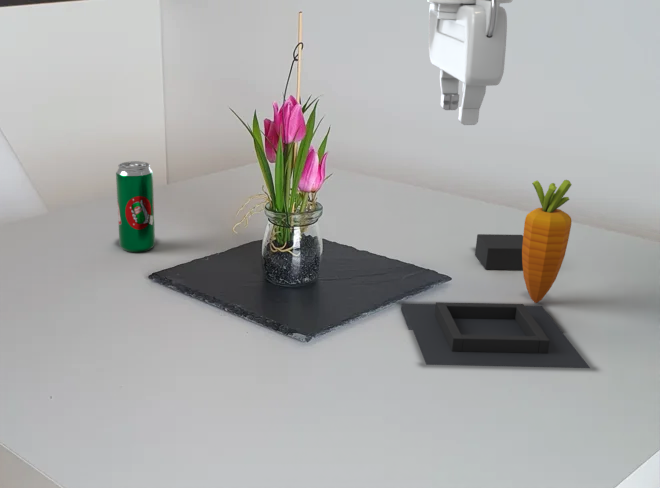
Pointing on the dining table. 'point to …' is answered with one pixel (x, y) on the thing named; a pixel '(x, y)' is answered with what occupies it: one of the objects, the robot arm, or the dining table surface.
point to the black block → (499, 251)
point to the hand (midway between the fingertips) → (457, 116)
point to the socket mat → (489, 335)
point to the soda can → (135, 206)
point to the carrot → (545, 240)
